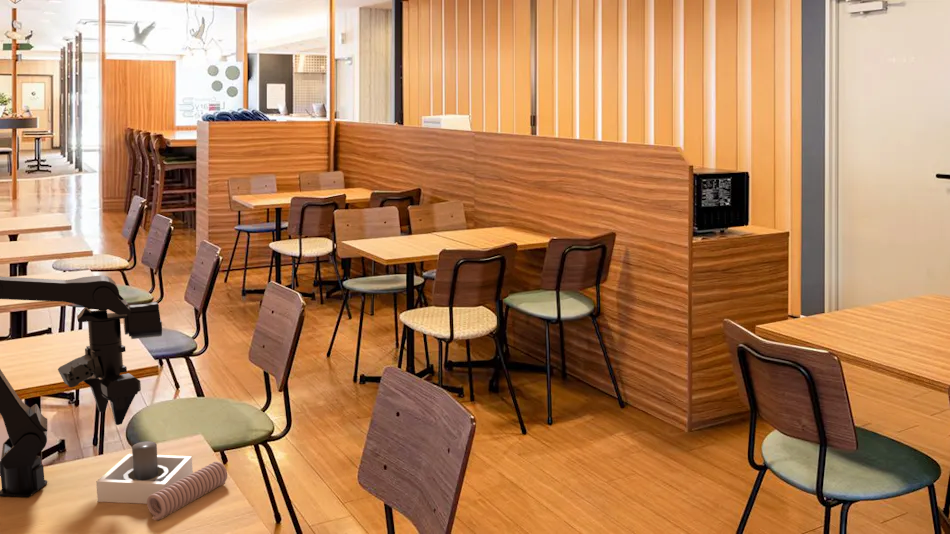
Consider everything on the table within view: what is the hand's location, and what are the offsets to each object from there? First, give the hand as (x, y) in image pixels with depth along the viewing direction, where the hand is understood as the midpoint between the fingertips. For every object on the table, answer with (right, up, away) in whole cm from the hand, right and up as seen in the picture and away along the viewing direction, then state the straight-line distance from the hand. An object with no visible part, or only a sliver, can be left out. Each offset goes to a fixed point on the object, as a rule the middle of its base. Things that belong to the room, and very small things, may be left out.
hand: (110, 418), depth 167 cm
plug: (+8, -12, -3) cm, 15 cm away
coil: (+18, -14, -8) cm, 24 cm away
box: (+8, -13, -3) cm, 16 cm away
